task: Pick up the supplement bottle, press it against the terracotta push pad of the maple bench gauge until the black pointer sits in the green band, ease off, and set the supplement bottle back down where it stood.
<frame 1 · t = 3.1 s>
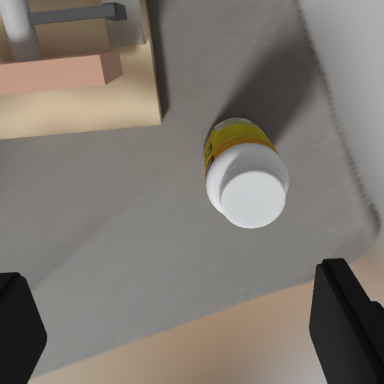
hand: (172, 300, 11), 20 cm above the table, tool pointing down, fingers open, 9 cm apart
supplement bottle: (234, 147, 29), on the table
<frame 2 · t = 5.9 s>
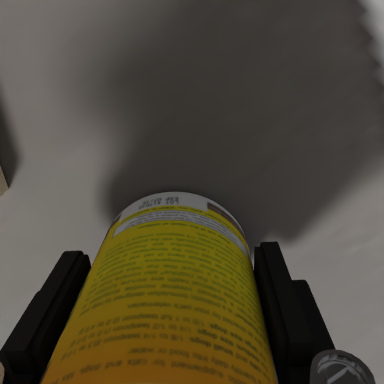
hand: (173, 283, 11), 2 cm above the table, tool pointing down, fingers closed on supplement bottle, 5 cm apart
supplement bottle: (177, 244, 13), on the table, touching gripper
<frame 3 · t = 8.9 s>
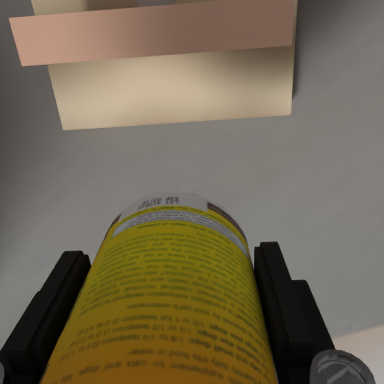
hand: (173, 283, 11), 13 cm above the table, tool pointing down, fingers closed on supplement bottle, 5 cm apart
supplement bottle: (177, 245, 13), point 10 cm above the table, touching gripper
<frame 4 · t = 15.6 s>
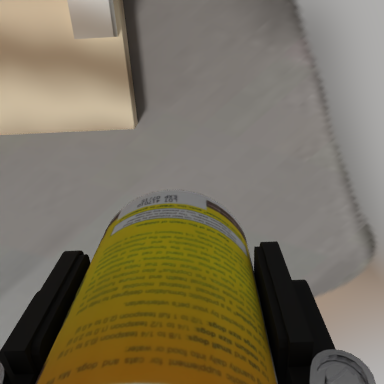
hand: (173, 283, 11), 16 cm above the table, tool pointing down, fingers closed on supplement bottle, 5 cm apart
supplement bottle: (176, 243, 13), point 14 cm above the table, touching gripper
when the fingers open (3 cm above the table, at t = 18.7 s): supplement bottle stays where it is, on the table.
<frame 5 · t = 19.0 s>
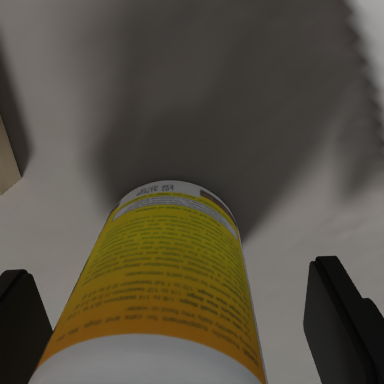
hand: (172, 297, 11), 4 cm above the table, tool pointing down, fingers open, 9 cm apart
supplement bottle: (173, 231, 14), on the table
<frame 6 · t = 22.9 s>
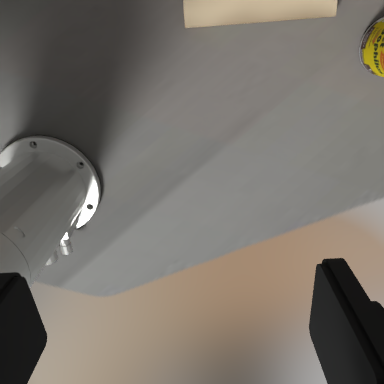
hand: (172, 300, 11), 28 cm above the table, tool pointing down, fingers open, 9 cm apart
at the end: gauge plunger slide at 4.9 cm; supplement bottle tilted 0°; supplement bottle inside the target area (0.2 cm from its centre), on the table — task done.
